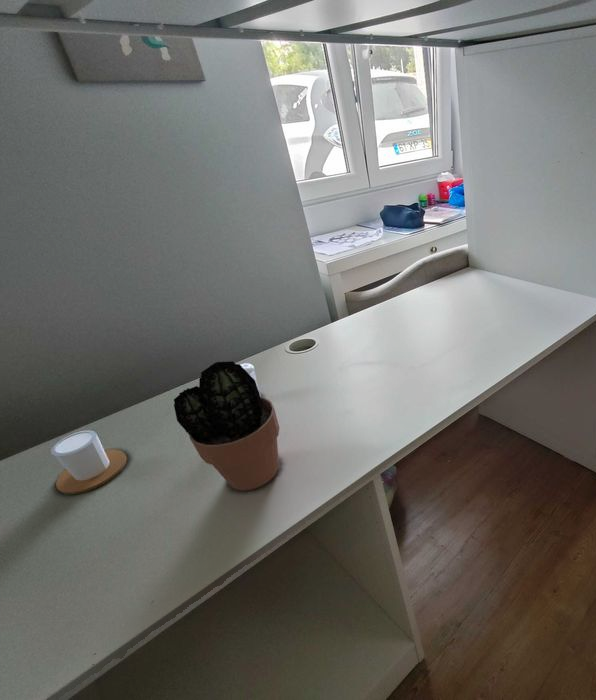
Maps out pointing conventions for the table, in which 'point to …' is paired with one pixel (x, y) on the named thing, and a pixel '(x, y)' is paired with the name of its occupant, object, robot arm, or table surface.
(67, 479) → the coaster
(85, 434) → the white cylinder
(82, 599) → the table surface
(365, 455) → the table surface
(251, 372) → the milkshake
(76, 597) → the table surface
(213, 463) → the potted plant
